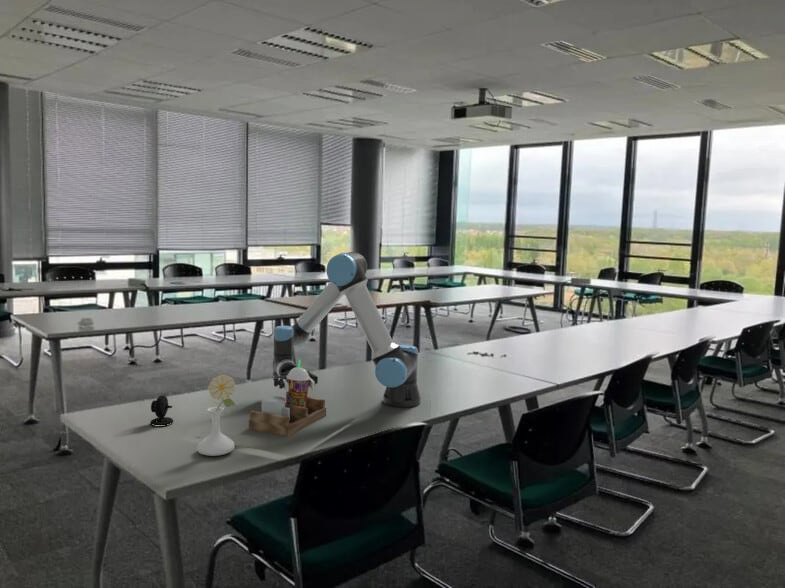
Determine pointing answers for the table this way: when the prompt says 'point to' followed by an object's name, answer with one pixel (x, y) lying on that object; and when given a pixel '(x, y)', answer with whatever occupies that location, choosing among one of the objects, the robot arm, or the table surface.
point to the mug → (275, 406)
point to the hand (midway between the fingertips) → (300, 386)
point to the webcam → (161, 411)
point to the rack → (281, 424)
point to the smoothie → (297, 386)
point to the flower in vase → (218, 418)
